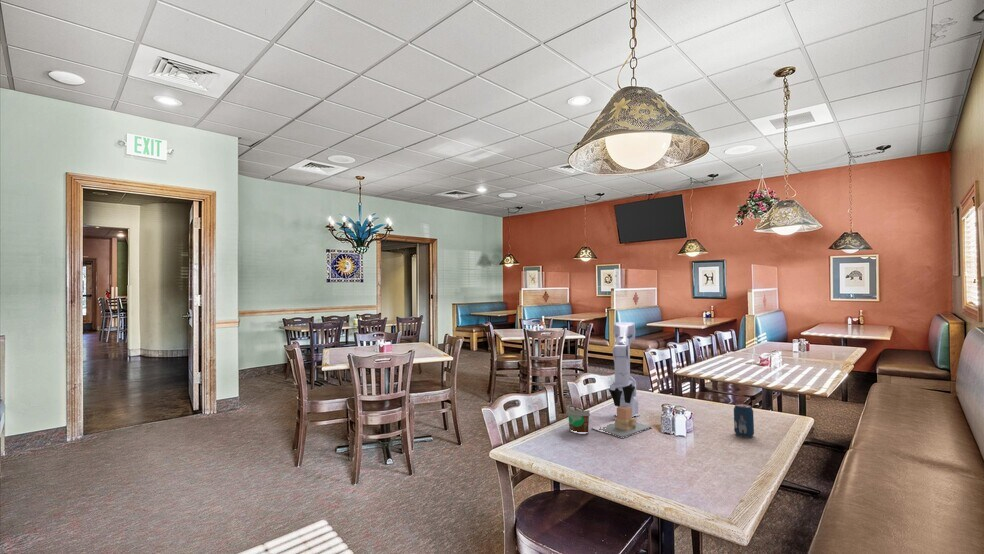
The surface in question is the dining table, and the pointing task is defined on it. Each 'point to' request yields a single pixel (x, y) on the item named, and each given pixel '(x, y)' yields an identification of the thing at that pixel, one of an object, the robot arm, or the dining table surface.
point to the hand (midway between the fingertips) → (622, 404)
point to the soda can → (743, 420)
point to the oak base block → (625, 424)
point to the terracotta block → (624, 413)
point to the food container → (578, 419)
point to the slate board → (623, 433)
